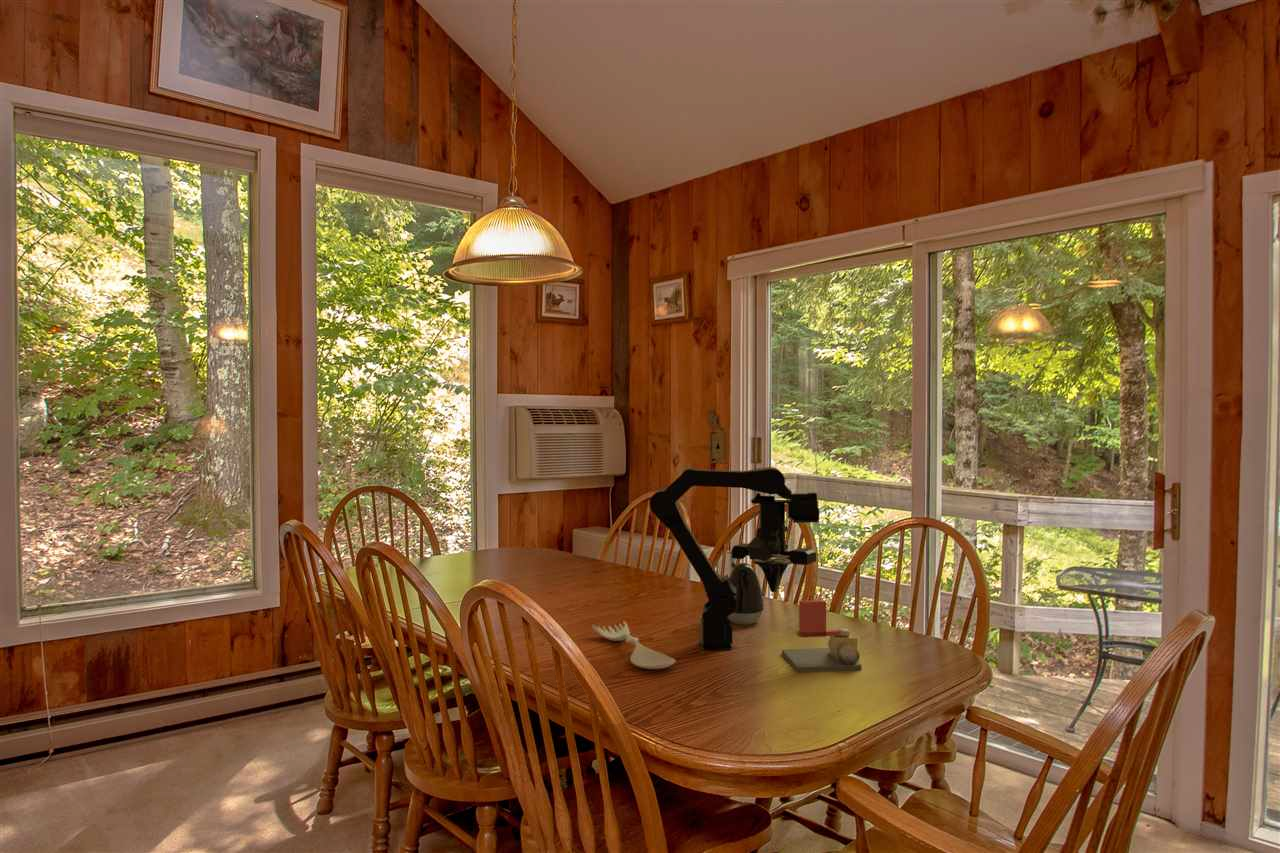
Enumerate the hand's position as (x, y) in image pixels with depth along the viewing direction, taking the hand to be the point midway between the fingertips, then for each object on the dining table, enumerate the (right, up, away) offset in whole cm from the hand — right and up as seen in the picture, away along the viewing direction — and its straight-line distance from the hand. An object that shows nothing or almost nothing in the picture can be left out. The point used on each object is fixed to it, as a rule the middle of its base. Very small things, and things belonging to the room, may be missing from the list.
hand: (773, 591), depth 177 cm
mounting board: (+8, -13, -9) cm, 18 cm away
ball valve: (+13, -12, -10) cm, 21 cm away
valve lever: (+9, -7, -11) cm, 16 cm away
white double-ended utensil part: (-32, -14, -2) cm, 35 cm away
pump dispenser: (-4, -13, +22) cm, 26 cm away
